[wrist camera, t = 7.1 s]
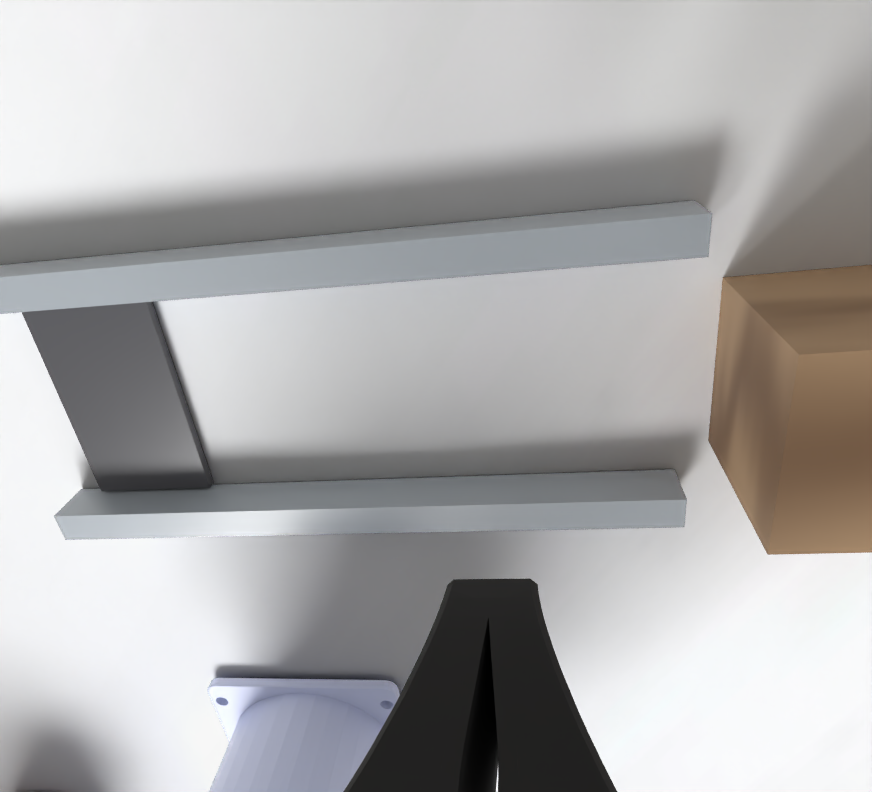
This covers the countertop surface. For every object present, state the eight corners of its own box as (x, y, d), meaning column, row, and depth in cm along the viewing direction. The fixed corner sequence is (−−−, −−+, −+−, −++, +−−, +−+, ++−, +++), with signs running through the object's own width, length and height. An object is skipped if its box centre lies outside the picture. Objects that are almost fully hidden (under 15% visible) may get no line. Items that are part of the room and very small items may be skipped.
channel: (672, 495, 19) (684, 527, 18) (91, 511, 22) (65, 539, 21) (694, 200, 15) (712, 213, 14) (-22, 266, 18) (-63, 283, 17)
